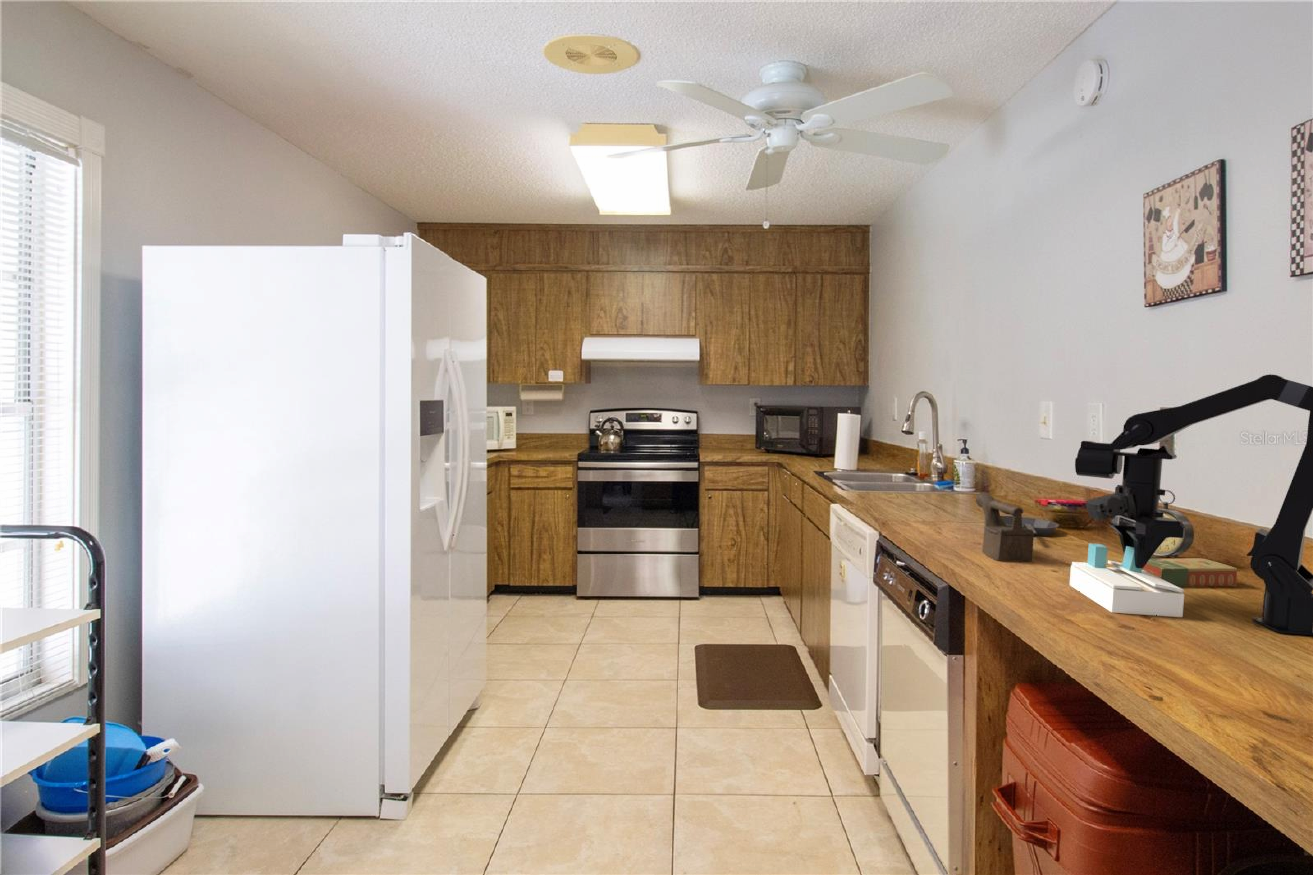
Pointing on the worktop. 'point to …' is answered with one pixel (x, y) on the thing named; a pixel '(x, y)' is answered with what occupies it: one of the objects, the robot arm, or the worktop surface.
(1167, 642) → the worktop surface
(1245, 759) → the worktop surface
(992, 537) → the clothes iron
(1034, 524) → the frying pan
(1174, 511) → the alarm clock
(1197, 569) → the carton
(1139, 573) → the flap
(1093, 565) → the flap
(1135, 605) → the carton box
